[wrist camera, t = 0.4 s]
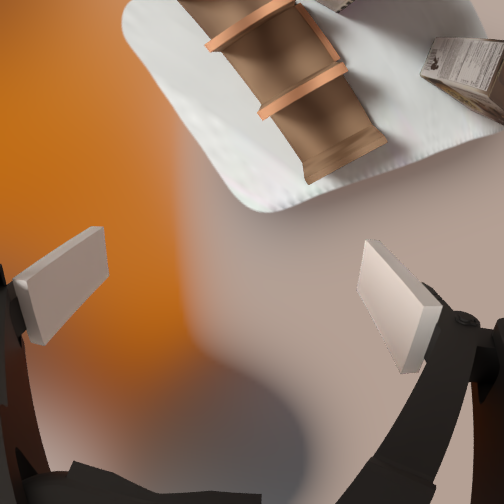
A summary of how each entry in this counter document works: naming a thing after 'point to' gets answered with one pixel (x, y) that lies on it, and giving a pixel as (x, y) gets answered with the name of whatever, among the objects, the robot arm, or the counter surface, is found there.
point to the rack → (291, 78)
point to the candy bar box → (336, 4)
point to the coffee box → (469, 73)
